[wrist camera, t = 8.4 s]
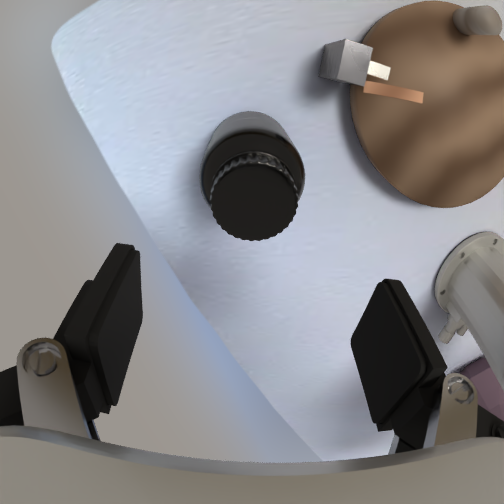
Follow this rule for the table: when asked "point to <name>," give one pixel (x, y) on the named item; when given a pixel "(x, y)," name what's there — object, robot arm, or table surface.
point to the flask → (486, 386)
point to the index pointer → (350, 63)
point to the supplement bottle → (252, 176)
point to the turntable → (435, 102)
